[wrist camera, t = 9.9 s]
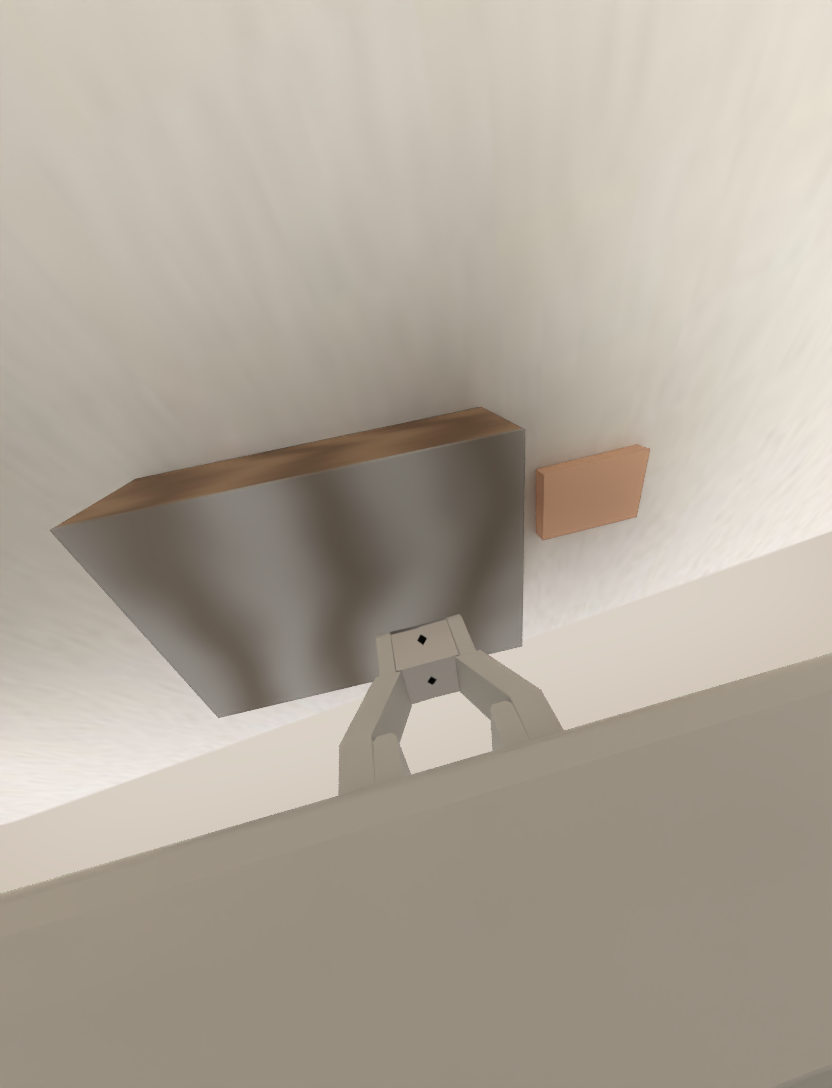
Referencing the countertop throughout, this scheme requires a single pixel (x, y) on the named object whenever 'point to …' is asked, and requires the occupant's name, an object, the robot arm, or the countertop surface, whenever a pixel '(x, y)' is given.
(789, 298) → the countertop surface
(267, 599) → the board
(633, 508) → the tile
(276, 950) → the robot arm
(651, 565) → the countertop surface
